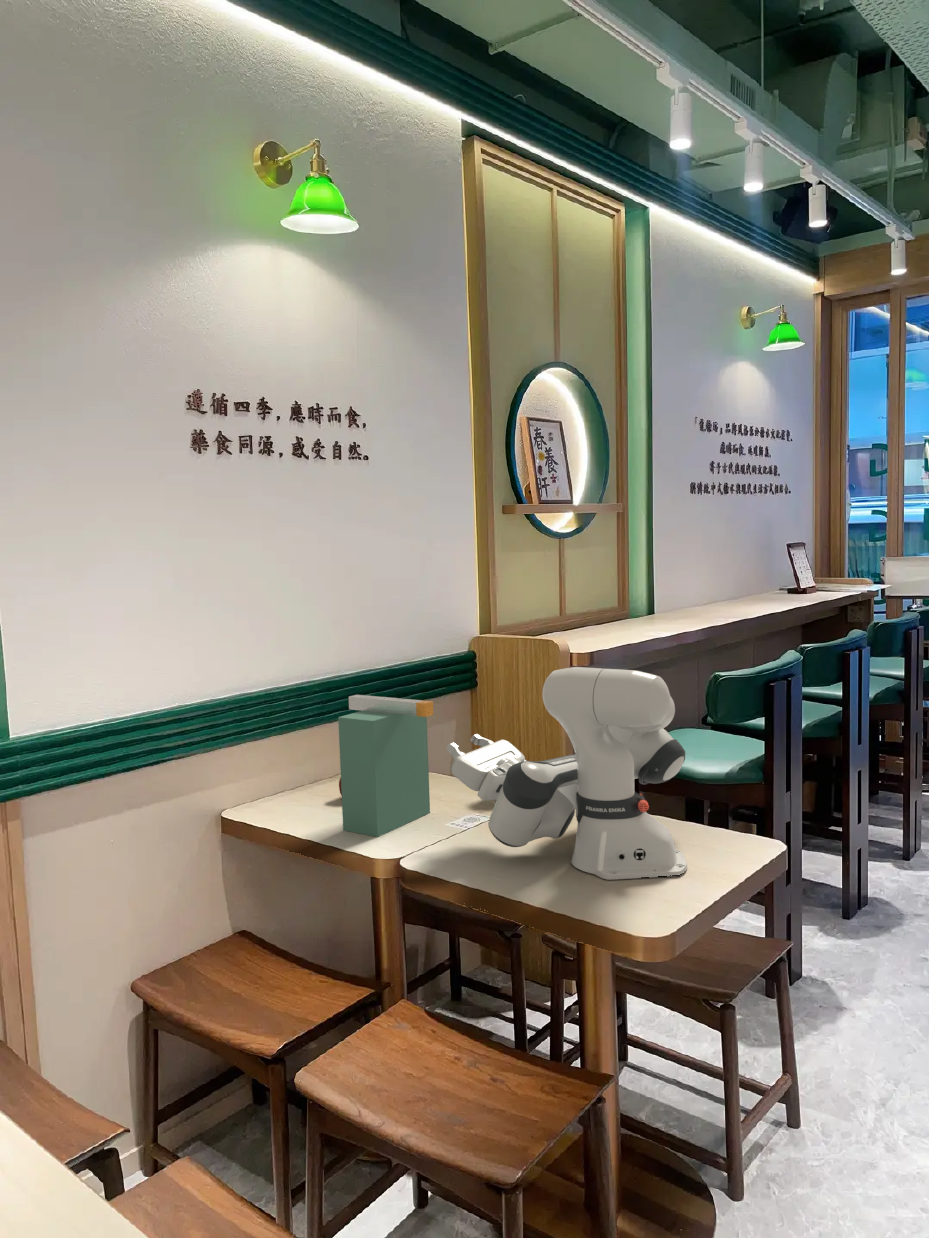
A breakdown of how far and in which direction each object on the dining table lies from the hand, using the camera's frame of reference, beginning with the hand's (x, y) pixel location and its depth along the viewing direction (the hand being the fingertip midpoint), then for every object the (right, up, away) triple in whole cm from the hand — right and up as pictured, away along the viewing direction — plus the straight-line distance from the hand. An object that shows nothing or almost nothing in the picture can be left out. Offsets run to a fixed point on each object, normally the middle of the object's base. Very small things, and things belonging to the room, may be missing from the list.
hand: (461, 741), depth 203 cm
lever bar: (-16, +5, +10) cm, 20 cm away
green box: (-17, -20, +13) cm, 30 cm away
